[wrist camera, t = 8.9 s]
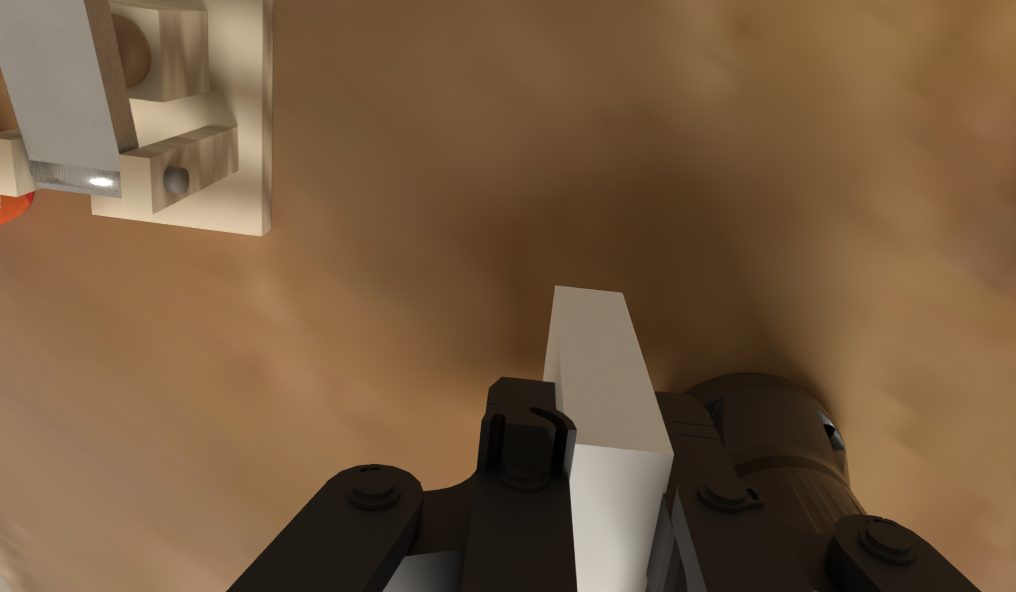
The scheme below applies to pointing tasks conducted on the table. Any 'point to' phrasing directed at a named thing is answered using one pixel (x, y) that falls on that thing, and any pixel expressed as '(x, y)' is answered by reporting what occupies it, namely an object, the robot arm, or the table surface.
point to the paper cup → (14, 206)
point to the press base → (187, 116)
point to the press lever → (67, 92)
